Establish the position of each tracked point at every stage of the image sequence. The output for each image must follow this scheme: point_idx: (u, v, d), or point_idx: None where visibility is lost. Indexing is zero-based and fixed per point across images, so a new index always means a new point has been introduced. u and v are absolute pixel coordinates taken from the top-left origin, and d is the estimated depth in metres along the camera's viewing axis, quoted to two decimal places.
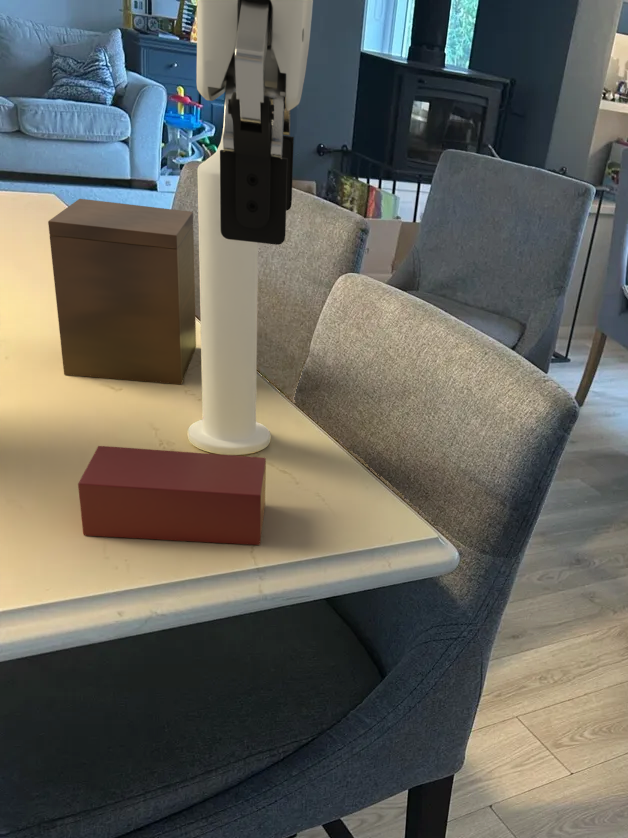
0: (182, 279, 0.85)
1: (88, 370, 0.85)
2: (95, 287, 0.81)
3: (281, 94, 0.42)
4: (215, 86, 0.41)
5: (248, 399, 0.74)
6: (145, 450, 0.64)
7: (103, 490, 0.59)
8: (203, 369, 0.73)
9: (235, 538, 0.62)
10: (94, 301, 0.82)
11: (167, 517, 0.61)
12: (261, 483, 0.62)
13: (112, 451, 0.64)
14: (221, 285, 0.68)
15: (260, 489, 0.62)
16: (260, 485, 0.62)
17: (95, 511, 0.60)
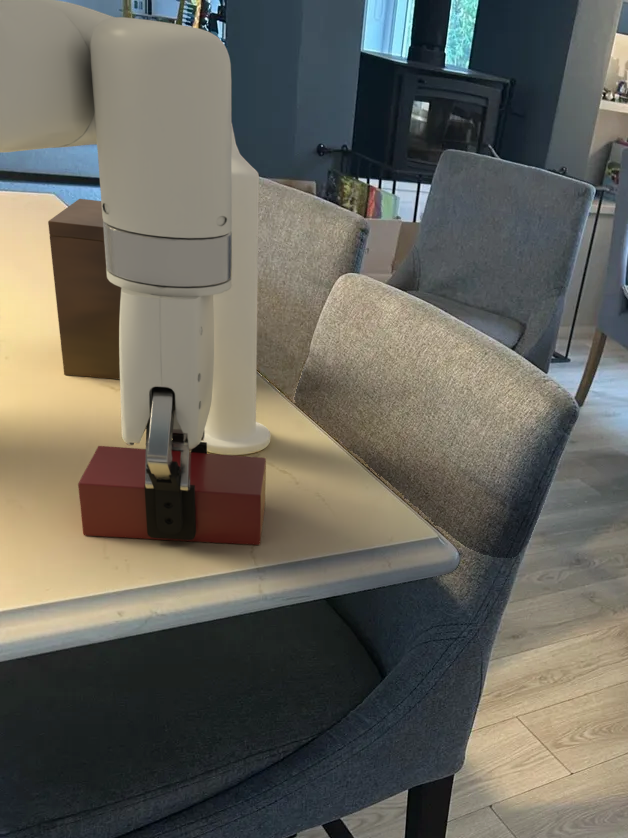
0: None
1: (88, 370, 0.85)
2: (95, 287, 0.81)
3: (186, 448, 0.58)
4: (135, 442, 0.56)
5: (248, 399, 0.74)
6: (145, 450, 0.64)
7: (103, 490, 0.59)
8: None
9: (235, 538, 0.62)
10: (94, 301, 0.82)
11: None
12: (261, 483, 0.62)
13: (112, 451, 0.64)
14: None
15: (260, 489, 0.62)
16: (260, 485, 0.62)
17: (95, 511, 0.60)
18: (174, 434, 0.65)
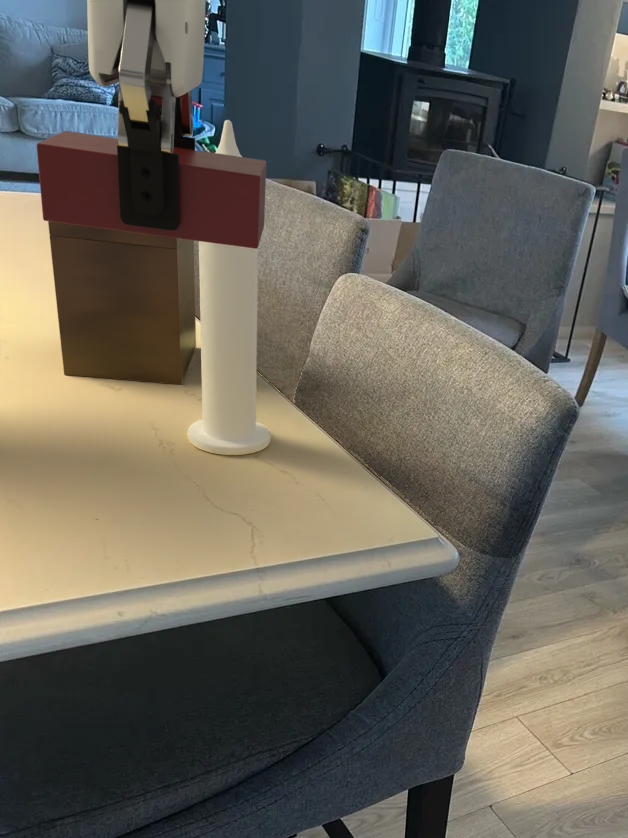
0: (182, 279, 0.85)
1: (88, 370, 0.85)
2: (95, 287, 0.81)
3: (169, 94, 0.47)
4: (105, 72, 0.45)
5: (248, 399, 0.74)
6: None
7: (68, 155, 0.48)
8: (203, 369, 0.73)
9: (228, 237, 0.52)
10: (94, 301, 0.82)
11: None
12: (260, 171, 0.52)
13: (82, 134, 0.53)
14: (221, 285, 0.68)
15: (259, 173, 0.51)
16: (259, 171, 0.51)
17: (57, 185, 0.49)
18: None
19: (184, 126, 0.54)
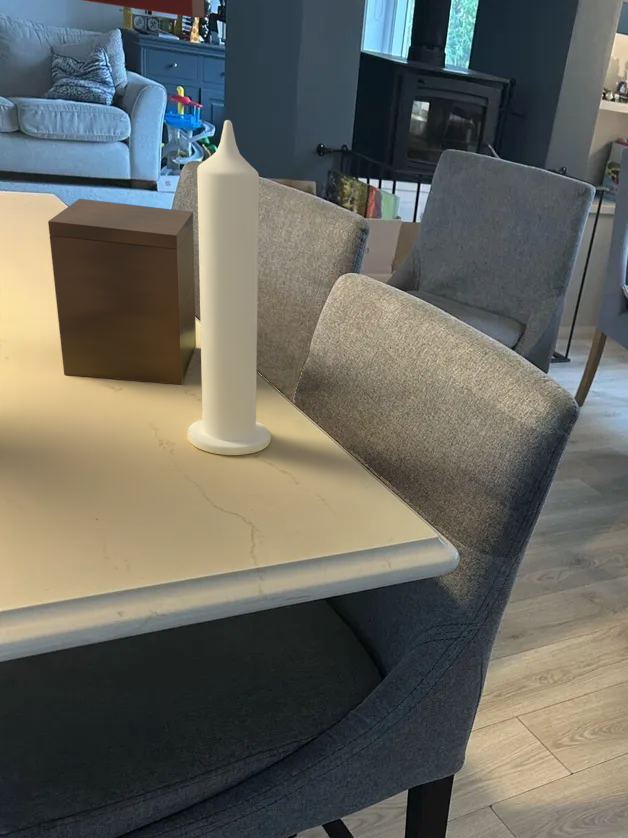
0: (182, 279, 0.85)
1: (88, 370, 0.85)
2: (95, 287, 0.81)
3: None
4: None
5: (248, 399, 0.74)
6: None
7: None
8: (203, 369, 0.73)
9: (169, 6, 0.67)
10: (94, 301, 0.82)
11: None
12: None
13: None
14: (221, 285, 0.68)
15: None
16: None
17: None
18: None
19: None
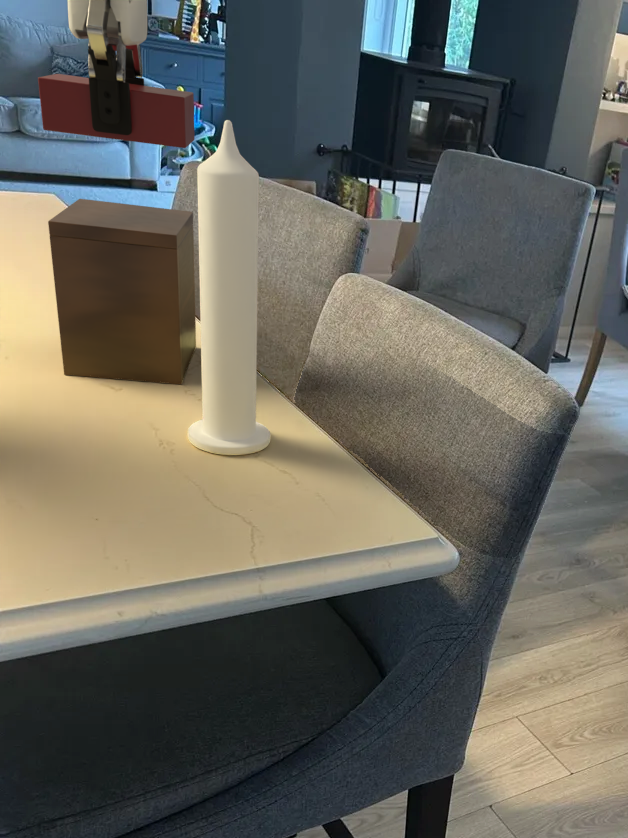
0: (182, 279, 0.85)
1: (88, 370, 0.85)
2: (95, 287, 0.81)
3: (121, 43, 0.73)
4: (79, 29, 0.72)
5: (248, 399, 0.74)
6: None
7: (58, 85, 0.75)
8: (203, 369, 0.73)
9: (165, 139, 0.78)
10: (94, 301, 0.82)
11: None
12: (186, 96, 0.78)
13: (68, 75, 0.79)
14: (221, 285, 0.68)
15: (184, 96, 0.77)
16: (185, 95, 0.78)
17: (52, 105, 0.76)
18: None
19: (136, 70, 0.81)
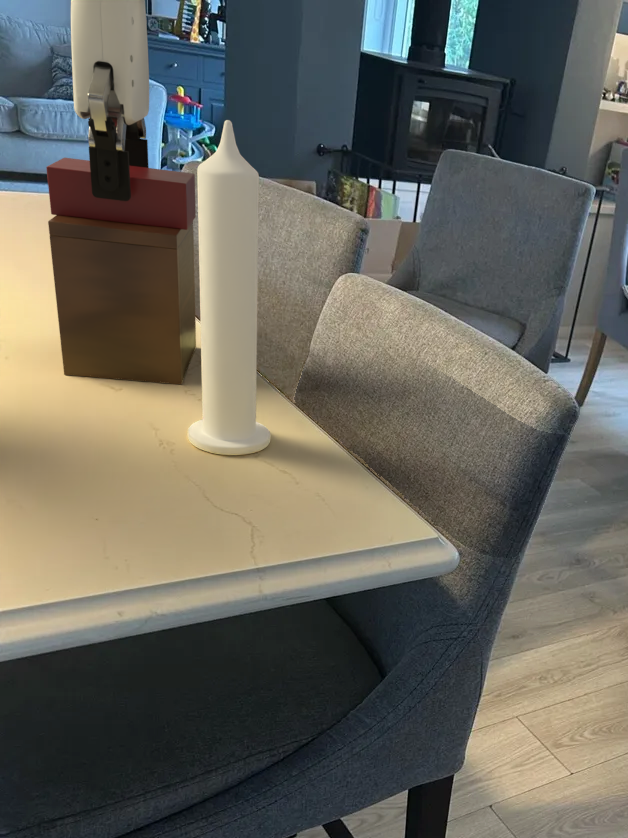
0: (182, 279, 0.85)
1: (88, 370, 0.85)
2: (95, 287, 0.81)
3: (122, 115, 0.75)
4: (84, 111, 0.75)
5: (248, 399, 0.74)
6: None
7: (66, 173, 0.78)
8: (203, 369, 0.73)
9: (168, 222, 0.82)
10: (94, 301, 0.82)
11: (115, 200, 0.80)
12: (188, 180, 0.82)
13: (74, 160, 0.83)
14: (221, 285, 0.68)
15: (186, 182, 0.81)
16: (186, 180, 0.81)
17: (59, 192, 0.79)
18: None
19: (140, 132, 0.84)
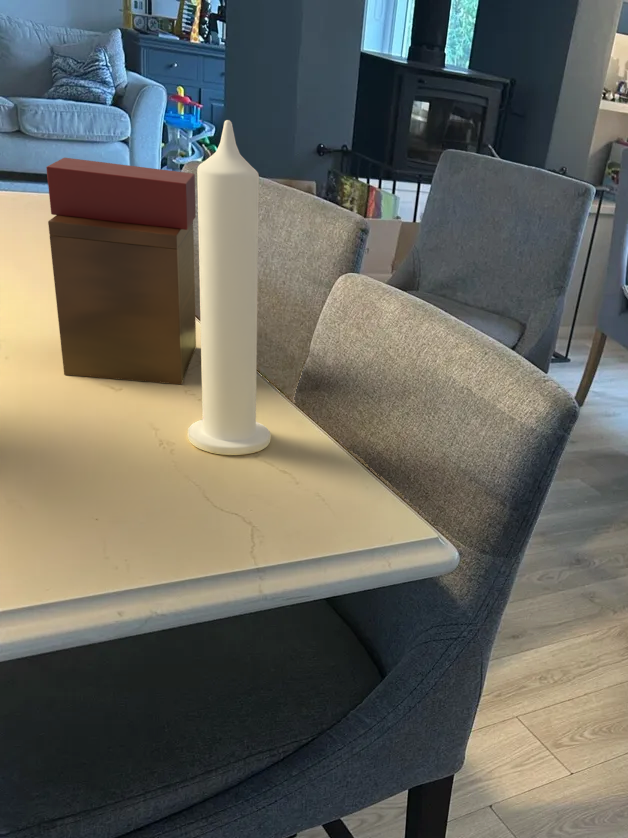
0: (182, 279, 0.85)
1: (88, 370, 0.85)
2: (95, 287, 0.81)
3: None
4: None
5: (248, 399, 0.74)
6: (100, 162, 0.84)
7: (66, 173, 0.78)
8: (203, 369, 0.73)
9: (168, 222, 0.82)
10: (94, 301, 0.82)
11: (115, 200, 0.80)
12: (188, 180, 0.82)
13: (74, 160, 0.83)
14: (221, 285, 0.68)
15: (186, 182, 0.81)
16: (186, 180, 0.81)
17: (59, 192, 0.79)
18: None
19: None
